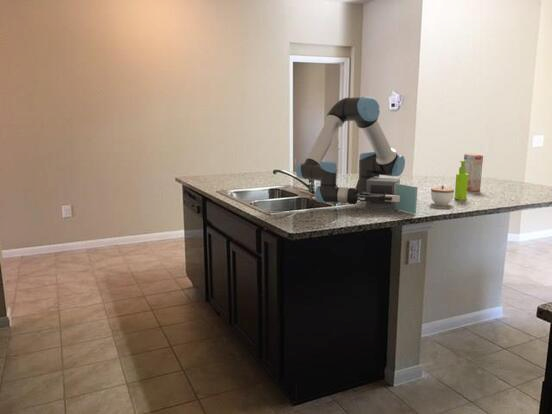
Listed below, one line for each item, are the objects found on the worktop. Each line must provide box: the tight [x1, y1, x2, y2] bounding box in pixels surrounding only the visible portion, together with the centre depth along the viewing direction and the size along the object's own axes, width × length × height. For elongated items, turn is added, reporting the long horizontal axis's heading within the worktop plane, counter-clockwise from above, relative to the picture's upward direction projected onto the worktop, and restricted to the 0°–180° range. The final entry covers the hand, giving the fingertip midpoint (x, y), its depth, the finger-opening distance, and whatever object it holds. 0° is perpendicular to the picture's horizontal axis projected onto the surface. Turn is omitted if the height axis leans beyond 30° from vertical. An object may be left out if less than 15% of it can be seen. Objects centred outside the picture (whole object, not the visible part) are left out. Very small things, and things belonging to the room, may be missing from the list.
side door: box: [392, 183, 418, 215], centre depth 215 cm, size 2×14×12 cm, turn 27°
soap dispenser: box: [454, 160, 471, 200], centre depth 248 cm, size 6×7×20 cm
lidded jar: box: [430, 185, 455, 206], centre depth 233 cm, size 11×11×9 cm
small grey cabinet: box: [365, 176, 401, 210], centre depth 228 cm, size 12×17×14 cm
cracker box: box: [463, 153, 484, 192], centre depth 278 cm, size 14×6×21 cm, turn 179°
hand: (399, 198), depth 212 cm, fingers closed
